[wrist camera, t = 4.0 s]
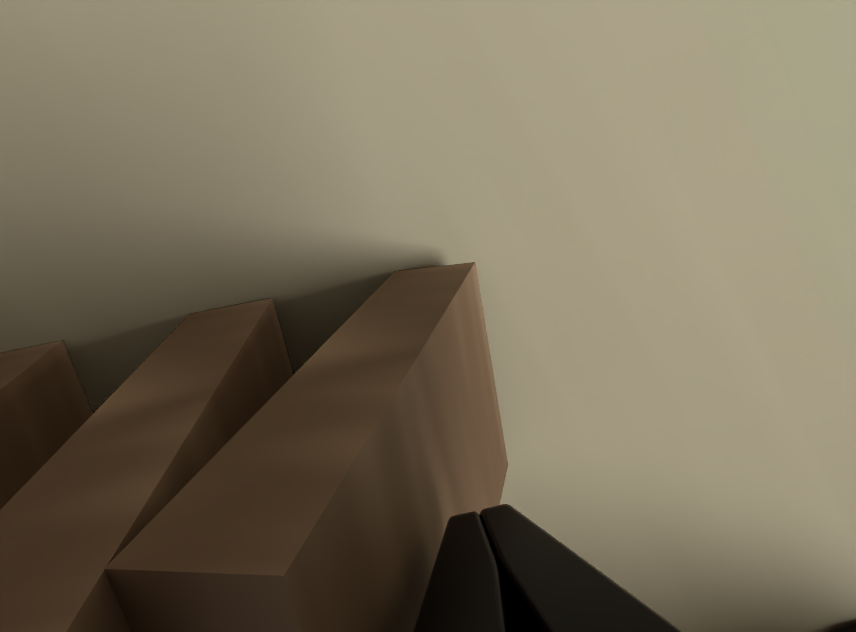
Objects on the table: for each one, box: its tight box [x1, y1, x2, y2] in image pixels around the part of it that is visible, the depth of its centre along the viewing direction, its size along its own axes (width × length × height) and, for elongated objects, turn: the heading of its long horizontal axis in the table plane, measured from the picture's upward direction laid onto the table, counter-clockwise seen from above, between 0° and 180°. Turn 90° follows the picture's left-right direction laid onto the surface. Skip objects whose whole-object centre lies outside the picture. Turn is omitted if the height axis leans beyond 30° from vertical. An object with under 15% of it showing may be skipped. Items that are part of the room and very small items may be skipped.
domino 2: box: [104, 262, 508, 632], centre depth 10 cm, size 2×5×9 cm, turn 10°
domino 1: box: [0, 298, 293, 632], centre depth 10 cm, size 2×5×9 cm, turn 10°
